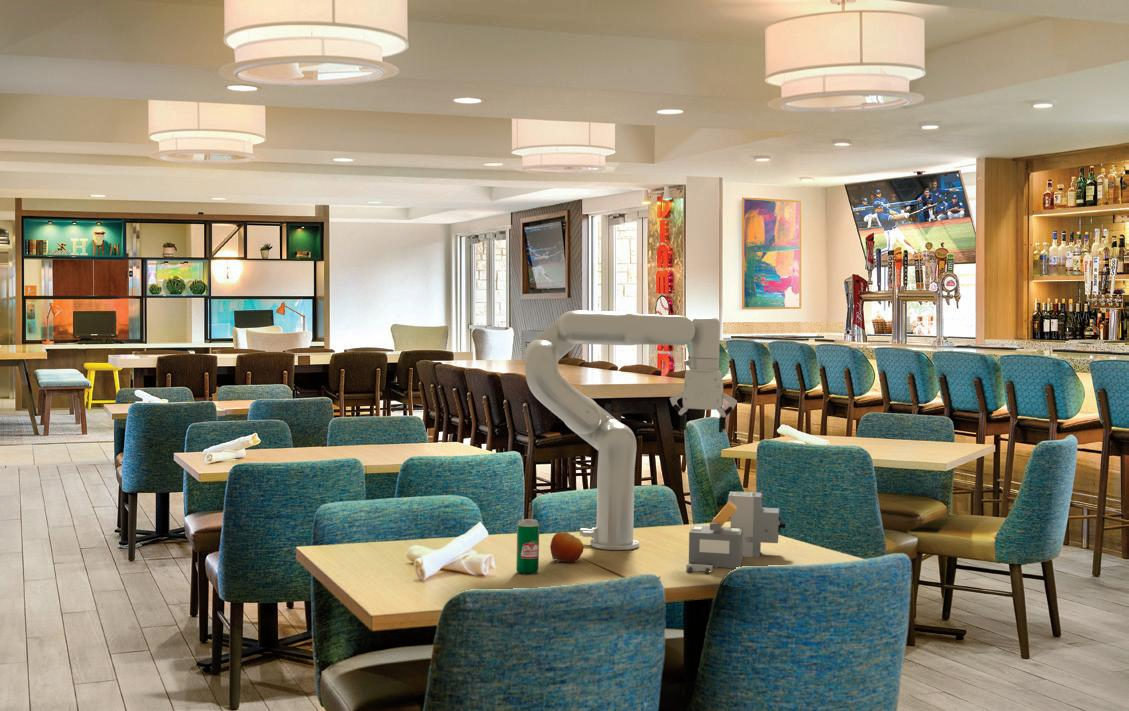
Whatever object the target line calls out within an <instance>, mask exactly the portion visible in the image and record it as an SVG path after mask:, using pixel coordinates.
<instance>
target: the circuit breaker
mask: <svg viewBox="0 0 1129 711" xmlns="http://www.w3.org/2000/svg"><path fill="white" fill-rule="evenodd" d="M762 497H763V493H762V492H756V491H755V492H752V491H751V492H750V491H729V494H728V497H727V503H728V502H729V501H731V502H732V503H733V504H734V505H735V506H737V509H736V511H735V512H734V513H733V514H732V515H731V517H730V527H735V528H743V542H742V558H743V557H745V558H760V555H761V552H762V551H761V550H762V549H761V548H762V547H761V546H762V543H764V544H778V542H779V534H780V533H781V529H786V524H787V523H786V521H781V516H780V508H777V507H763V506H762V503H763V500H762V499H763V498H762Z"/></svg>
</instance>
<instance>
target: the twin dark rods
mask: <svg viewBox="0 0 1129 711" xmlns="http://www.w3.org/2000/svg"><path fill="white" fill-rule="evenodd" d="M713 568H714V567H713V565H711V564H710V563H709V564H708V565H699V564H695V563H693V562H692V563H691V564H689V563H686V565H685V571H686V570H687V571H686V572H687V573H689V574H691V573H692V572H698V571H705V572H704V573H705V574H706V573H708V574H709V573H713ZM709 571H711V572H709Z"/></svg>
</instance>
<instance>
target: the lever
mask: <svg viewBox="0 0 1129 711" xmlns="http://www.w3.org/2000/svg"><path fill="white" fill-rule="evenodd" d="M736 509H737V506H735V505H734V504H733V503H732V502H731V501H729V502H728V501H727V502H726V504H725V505H724V506H723V507H722V509H721V510H720V511H719V512H718V514H716V516H715V518H714V519H713V518H712V521H711V523H720V528H721V527H724V524H725V523H726V522H727V521H728V520H729V519H731V515H732V514H733V513H734V512H735V511H736Z"/></svg>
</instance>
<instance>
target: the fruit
mask: <svg viewBox="0 0 1129 711" xmlns="http://www.w3.org/2000/svg"><path fill="white" fill-rule="evenodd" d="M549 548H550V554H551V557H552V560H556V565H558V563H559V562H566V563H576V562H577V561H578V560H579V559H580V558H581V556H582V554H583V553H584V548H585V546H584V543H583V542H582V540H581V539H579V538H578V537H576V536H575V535H572V534H571V533H569V532H559V531H558V532H557V533H555V534H554V535H553V536H552V538H551V540H550V547H549Z"/></svg>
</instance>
